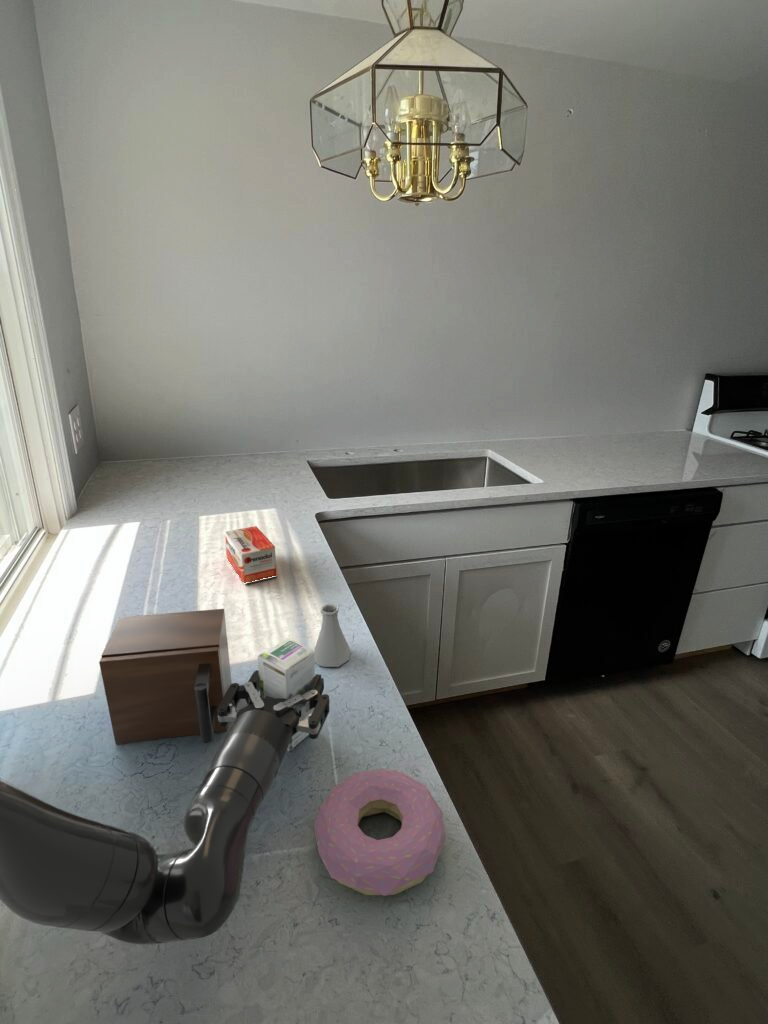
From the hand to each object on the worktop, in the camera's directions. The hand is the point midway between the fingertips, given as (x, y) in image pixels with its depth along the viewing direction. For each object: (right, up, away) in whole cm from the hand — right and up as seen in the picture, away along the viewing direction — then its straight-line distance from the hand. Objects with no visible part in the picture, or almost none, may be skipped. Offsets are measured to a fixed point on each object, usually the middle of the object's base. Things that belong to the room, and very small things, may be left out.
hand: (290, 675), depth 82 cm
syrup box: (0, -9, +1) cm, 9 cm away
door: (-17, -10, -2) cm, 20 cm away
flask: (+4, -2, +19) cm, 20 cm away
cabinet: (-19, -7, +6) cm, 21 cm away
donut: (+13, -16, -15) cm, 25 cm away
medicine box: (-18, +10, +51) cm, 55 cm away
